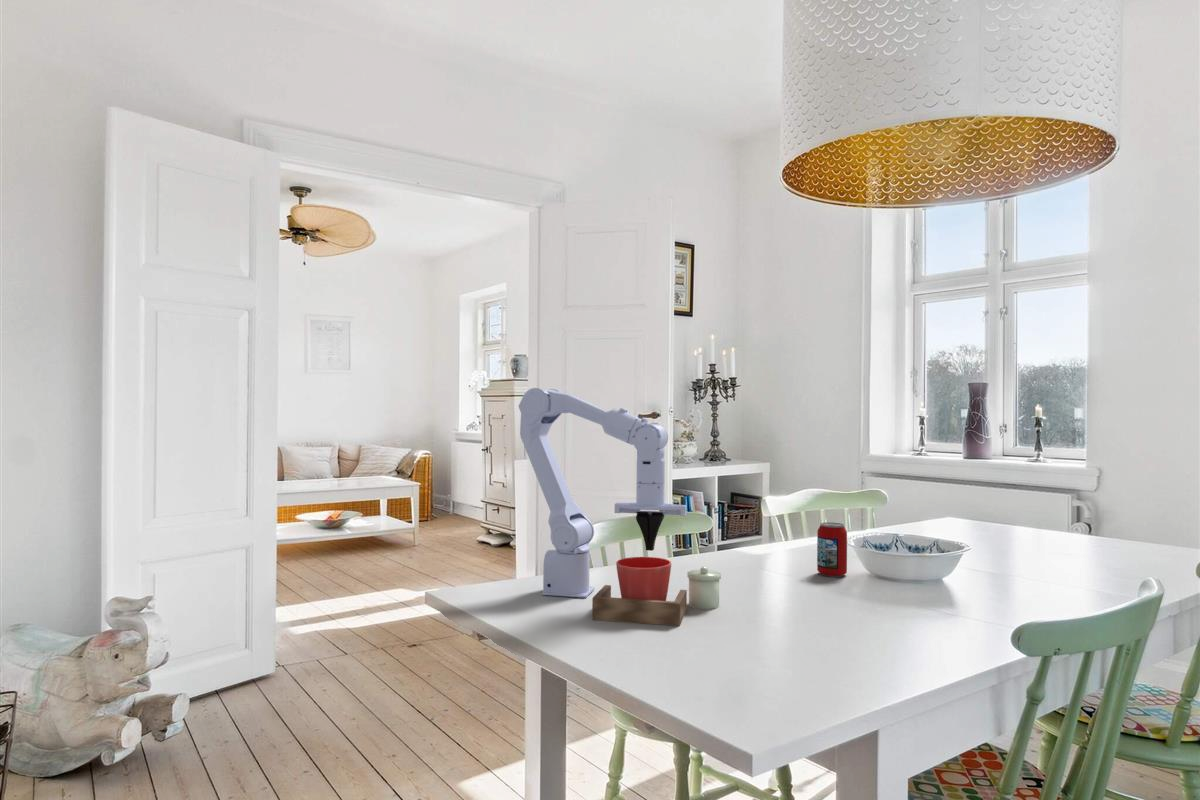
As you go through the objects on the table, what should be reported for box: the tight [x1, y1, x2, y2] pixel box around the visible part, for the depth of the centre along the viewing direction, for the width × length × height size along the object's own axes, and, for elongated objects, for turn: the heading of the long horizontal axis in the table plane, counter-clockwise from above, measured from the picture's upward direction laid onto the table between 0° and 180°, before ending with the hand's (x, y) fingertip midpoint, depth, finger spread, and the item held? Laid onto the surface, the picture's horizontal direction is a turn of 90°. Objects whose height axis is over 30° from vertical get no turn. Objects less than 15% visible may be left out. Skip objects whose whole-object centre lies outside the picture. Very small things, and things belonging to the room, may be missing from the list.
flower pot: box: [615, 556, 672, 601], centre depth 145 cm, size 11×11×10 cm
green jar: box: [686, 566, 722, 610], centre depth 150 cm, size 7×7×8 cm
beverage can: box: [816, 521, 848, 578], centre depth 179 cm, size 7×7×12 cm
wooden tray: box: [591, 584, 688, 627], centre depth 143 cm, size 16×11×4 cm, turn 77°
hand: (650, 549), depth 153 cm, fingers closed
